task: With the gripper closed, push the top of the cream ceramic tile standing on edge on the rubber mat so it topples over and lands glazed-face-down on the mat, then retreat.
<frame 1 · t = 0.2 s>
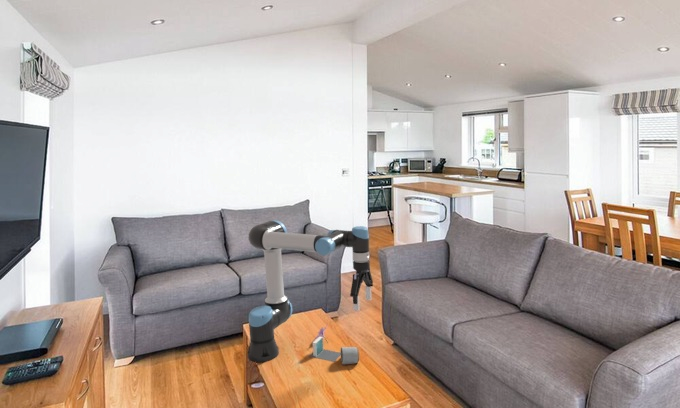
hand: (362, 304, 197), 28 cm above the table, fingers open, 13 cm apart
ceramic mug: (348, 361, 201), on the table
lily: (321, 342, 221), on the table
tile: (318, 353, 209), resting on mat
mat: (325, 355, 207), on the table
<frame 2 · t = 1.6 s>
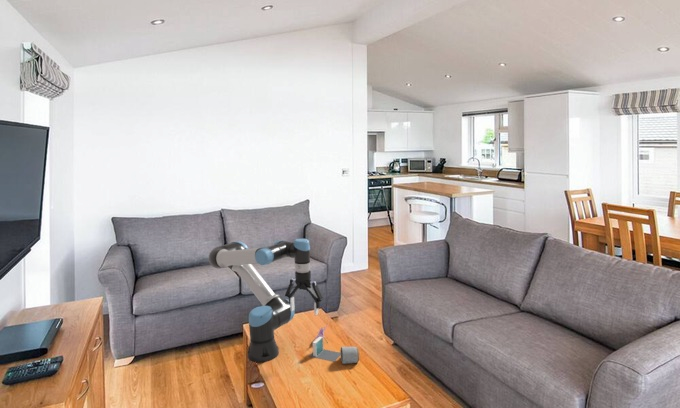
hand: (304, 312, 209), 21 cm above the table, fingers open, 13 cm apart
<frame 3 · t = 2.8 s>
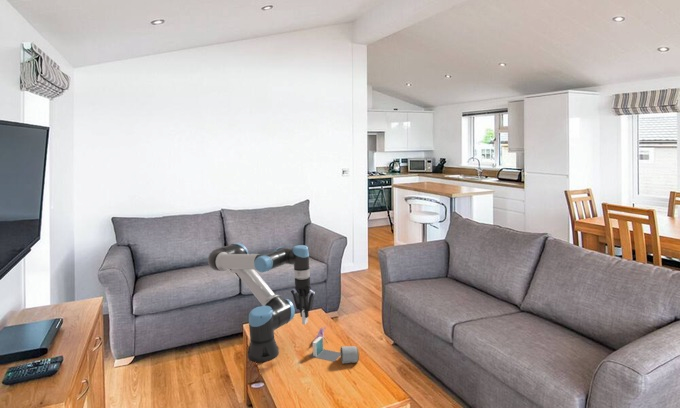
hand: (305, 323, 210), 15 cm above the table, fingers closed
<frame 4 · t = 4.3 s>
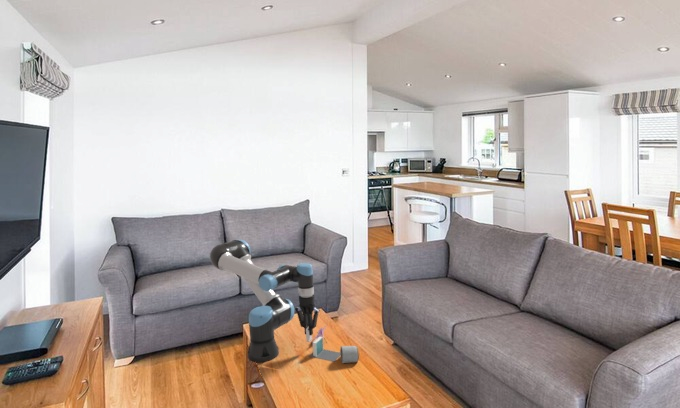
hand: (309, 340, 210), 6 cm above the table, fingers closed
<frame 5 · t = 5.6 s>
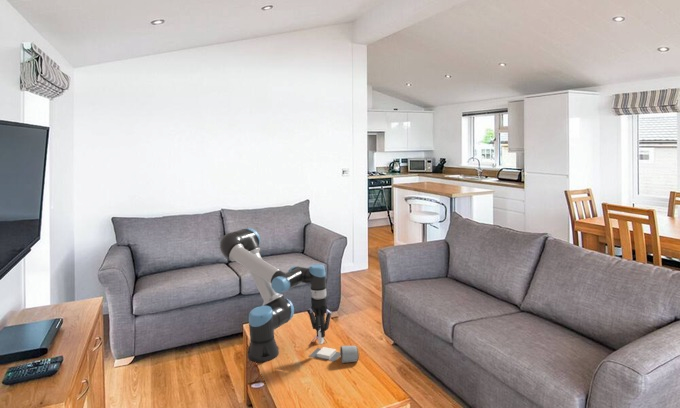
hand: (321, 343, 207), 6 cm above the table, fingers closed
tile: (320, 351, 208), point 1 cm above the table, tilted 90°, touching mat
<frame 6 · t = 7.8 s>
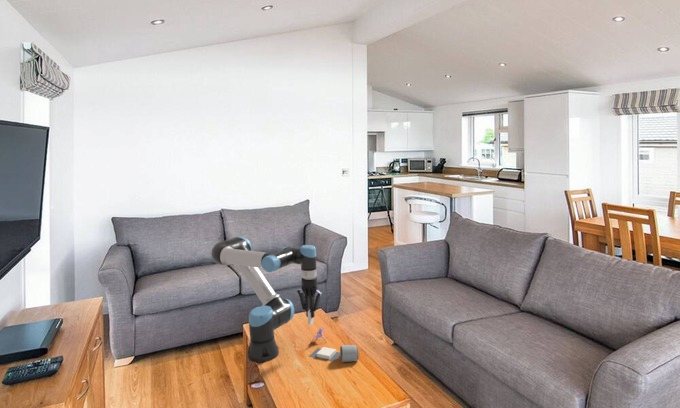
hand: (310, 323, 208), 15 cm above the table, fingers closed
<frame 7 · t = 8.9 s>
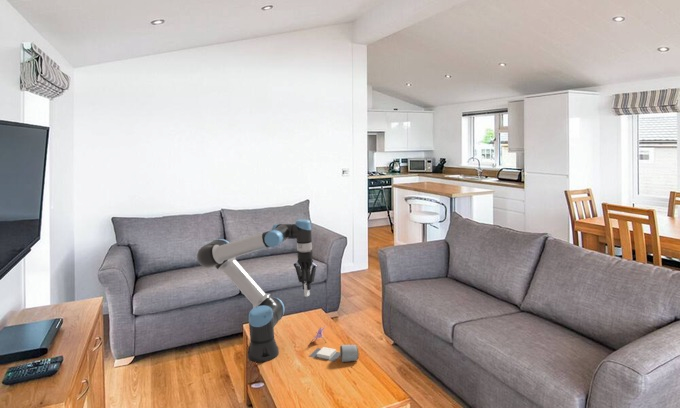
hand: (307, 295, 215), 26 cm above the table, fingers closed
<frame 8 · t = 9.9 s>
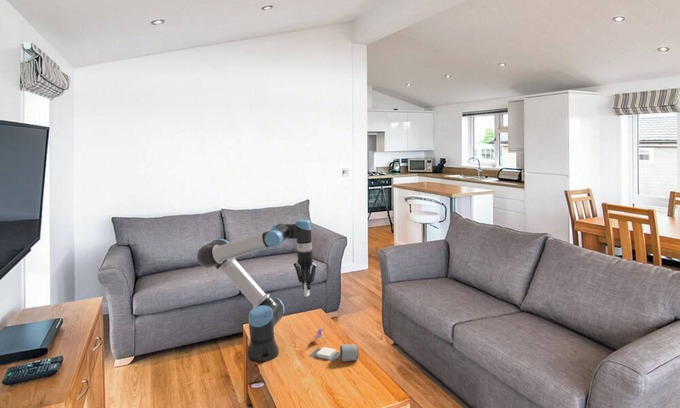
hand: (307, 295, 215), 26 cm above the table, fingers closed
at the end: tile tilted 90°; tile inside the target area on the mat (3.5 cm from its centre), point 1.3 cm above the mat's base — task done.
